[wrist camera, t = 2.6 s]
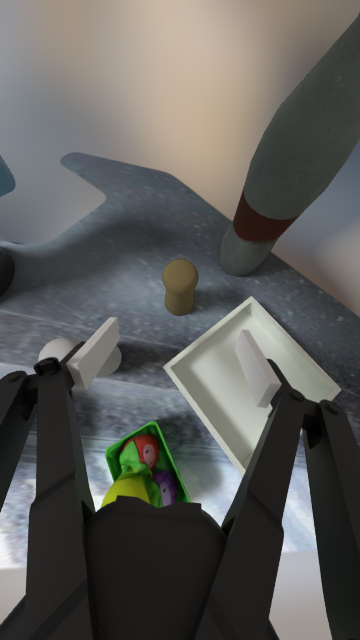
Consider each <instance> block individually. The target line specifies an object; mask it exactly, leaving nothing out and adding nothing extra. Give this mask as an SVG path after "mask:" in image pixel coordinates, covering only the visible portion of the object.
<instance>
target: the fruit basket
mask: <svg viewBox="0 0 360 640" xmlns="http://www.w3.org/2000/svg"><path fill="white" fill-rule="evenodd" d="M105 457H106V460H107V463H108V466H109V469H110V472H111V475H112V478H113V481H114V483H113V485H112V486H111V487H110V489H109V491H108V492H107V494H106V496H105V498H104V500H103V503H102V506H101V508H102V507H103V506H105V505H106V504H108V503H111V502H113V501H116V497H117V495H123V496H132V497H138V498H140V499H142V500H144V501H146V502H148V503H149V504H151V505H153V506H155V507H157V508H160V507H164V506H167V505H170V504H174V503H177V502H180V501H181V502H191V501H190V498H189V496H188V494H187V491H186V489H185V487H184V484H183V482H182V480H181V477H180V474H179V472H178V470H177V467H176V465H175V463H174V460H173V458H172V455H171V453H170V451H169V448H168V447H167V444H166V442H165V440H164V437H163V435H162V432H161V430H160V428H159V426H158V424H157V421H156V420H154V421H152V422H149V423H147V424H146V425H144V426H143V427H141V428H139V429H138V430H136V431H134V432H132V433H131V434H129V435H127V436H126V437H124V438H122V439H121V440H119V441H117V442H115V443H114V444H112V445H110V446H109V447H108V448H107V449H106V452H105Z"/></svg>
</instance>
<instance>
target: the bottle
mask: <svg viewBox="0 0 360 640" xmlns="http://www.w3.org/2000/svg"><path fill="white" fill-rule="evenodd" d="M359 138H360V13H359V15H358V17H357V18H356V19H355V20H354V22H353V23H352V24H351V25H350V26H349V28H348V29H347V30H346V31H345V32H344V33H343V34H342V35H341V36H340V38H339V39H338V40H337V41H336V42H335V43H334V45H333V46H332V47H331V48H330V49H329V50H328V51H327V53H326V54H325V55H324V56H323V57H322V58H321V59H320V61H319V62H318V63H317V64H316V65H315V66H314V67H313V69H312V70H311V71H310V72H309V73H308V74H307V75H306V77H305V78H304V79H303V80H302V81H301V82H300V84H299V85H298V86H297V87H296V88H295V89H294V90H293V91H292V93H291V94H290V95H289V96H288V97H287V98H286V100H285V101H284V102H283V103H282V104H281V105H280V107H279V109H278V110H277V112H276V113H275V115H274V117H273V119H272V121H271V122H270V124H269V125H268V127H267V129H266V130H265V132H264V134H263V137H262V139H261V141H260V143H259V145H258V148H257V150H256V152H255V154H254V156H253V158H252V160H251V163H250V167H249V171H248V174H247V178H246V182H245V185H244V188H243V191H242V195H241V198H240V201H239V204H238V208H237V211H236V214H235V217H234V220H233V221H232V223H231V225H230V226H229V228H228V230H227V232H226V234H225V236H224V237H223V239H222V242H221V247H220V252H219V262H220V265H221V267H222V269H223V270H224V271H225V272H226V273H228V274H230V275H233V276H244V275H246V274H248V273H250V272H252V271H253V270H254V269H256V268H257V267H258V266H259V265H260V264H261V263H262V262H263V261H264V260H265V259H266V257H267V256H268V254H269V253H270V251H271V249H272V247H273V246H274V244H275V242H276V241H277V239H278V238H279V237H280V236H281V235H282V234H283V233H284V232H285V231H286V229H287V228H288V227H289V226H290V225H291V224H292V223H293V222H294V221H295V220H296V219H297V218H298V217H299V216H300V215H301V213H303V212H304V210H305V209H306V208H307V207H308V206H309V205H310V204H311V203H312V202H313V201H314V200H316V198H318V196H319V195H321V194H322V193H323V192H324V190H325V189H326V188H327V187H328V185H329V184H330V182H331V181H332V180H333V178H334V177H335V176H336V174H337V173H338V172H339V170H340V169H341V168H342V166H343V165H344V163H345V162H346V161H347V159H348V157H349V156H350V154H351V152H352V151H353V149H354V147H355V145H356V144H357V142H358V140H359Z"/></svg>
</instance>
